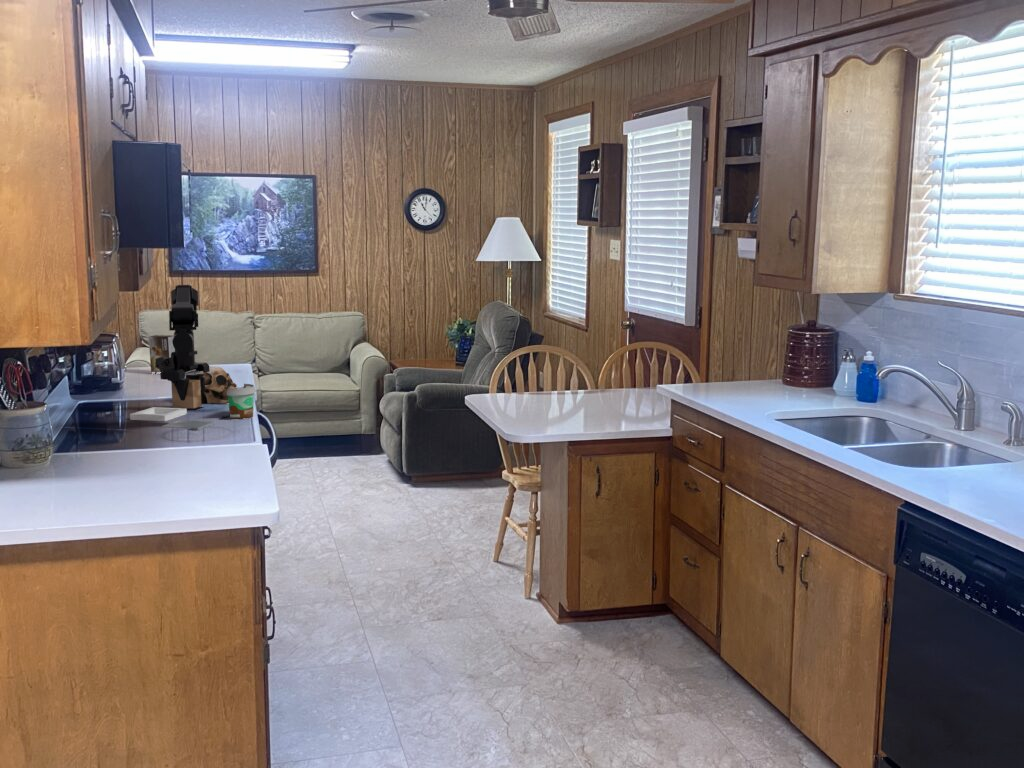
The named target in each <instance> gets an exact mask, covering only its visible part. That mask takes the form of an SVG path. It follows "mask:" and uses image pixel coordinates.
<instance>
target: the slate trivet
mask: <svg viewBox="0 0 1024 768" xmlns="http://www.w3.org/2000/svg"><path fill="white" fill-rule="evenodd" d="M213 425H215V421H207V420H189V419H188V420H186V419H184V420H183V419H179V420H176V421H172V422H170V423H167V424H164V425H161V428H174V429H175V428H176V429H177V428H179V429H187V431H200V430H202V429H205V427H206V428H208V427H211V426H213Z"/></svg>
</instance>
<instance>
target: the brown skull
mask: <svg viewBox="0 0 1024 768" xmlns="http://www.w3.org/2000/svg"><path fill="white" fill-rule="evenodd" d="M209 369H210V372H206V373H204V372H203V371H200V374H204V376H203V377H204V378H205V391H204V392H201V403H207V404H208V403H229V400H228V396H227V391H228V389H235V388H238V386H237V384H236V383H235V382H234V381H233V380H232V378H231V376H230V373H228V372H226V370H224V368H222V367H221V366H213V365H212V366H209Z"/></svg>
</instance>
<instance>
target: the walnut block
mask: <svg viewBox="0 0 1024 768" xmlns="http://www.w3.org/2000/svg"><path fill="white" fill-rule="evenodd" d="M170 382H171V381H170ZM171 398H172V399H171V400H172V401H171V403H172V408H197V407H202V402H201V387H200V380H189V384H188V388H187V393H186V397H185V400H184V401H183V400H181V399H180V397H179V394H178V392H177V389H176V387H175V385H174V384H173V383H172V382H171Z"/></svg>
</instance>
